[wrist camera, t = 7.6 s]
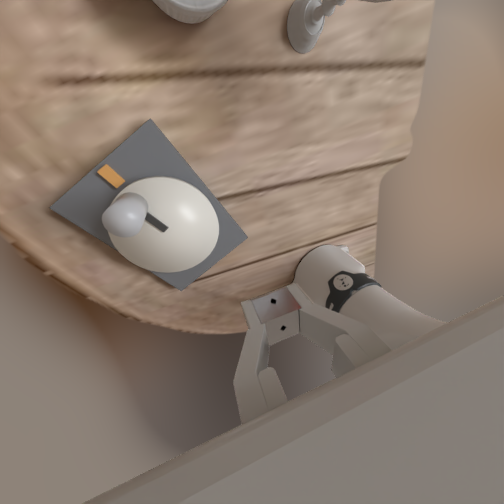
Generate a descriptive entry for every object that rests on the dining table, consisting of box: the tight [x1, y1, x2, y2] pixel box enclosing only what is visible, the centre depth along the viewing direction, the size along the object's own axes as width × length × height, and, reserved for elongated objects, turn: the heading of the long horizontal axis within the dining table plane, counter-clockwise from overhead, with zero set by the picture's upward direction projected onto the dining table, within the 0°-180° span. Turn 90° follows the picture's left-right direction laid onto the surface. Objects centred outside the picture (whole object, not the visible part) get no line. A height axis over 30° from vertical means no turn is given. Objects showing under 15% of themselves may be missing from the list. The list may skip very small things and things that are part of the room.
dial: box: [102, 176, 219, 273], centre depth 26 cm, size 15×15×8 cm
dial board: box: [49, 119, 248, 291], centre depth 30 cm, size 22×17×3 cm
